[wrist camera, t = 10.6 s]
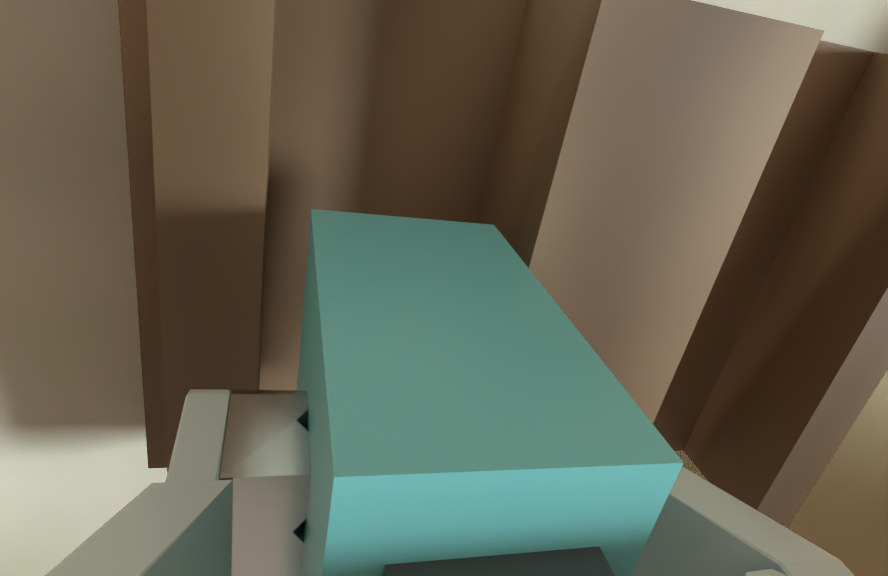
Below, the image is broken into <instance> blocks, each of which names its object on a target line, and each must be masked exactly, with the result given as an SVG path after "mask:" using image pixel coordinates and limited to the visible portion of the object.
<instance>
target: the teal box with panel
mask: <svg viewBox="0 0 888 576" xmlns="http://www.w3.org/2000/svg"><path fill="white" fill-rule="evenodd" d="M297 390H298V391H307V394H308V418H307V429H306V430H307V431H308V432H309V436H310V461H311V480H310V490H309V500H308V510H307V518H306V519H305V520H304V549H303V559H302V569H301V576H630V575H631V573H632V571H633V569H634V567H635V565H636V563H637V561H638V559H639V556H640V554H641V552H642V550H643V548H644V546H645V544H646V542H647V540H648V537H649V535H650V533H651V531H652V529H653V527H654V525H655V523H656V520H657V518H658V516H659V514H660V512H661V510H662V508H663V506H664V504H665V501H666V499H667V497H668V495H669V493H670V491H671V489H672V487H673V485H674V482H675V480H676V478H677V476H678V474H679V472H680V470H681V468H682V465H683V461H682V460H681V459H680V458H679V456H678V455H677V454H676V453H675V451H674V450H673V449H672V448H671V446H670V445H669V444H668V443H667V441H666V440H665V439H664V438H663V436H662V435H661V434H660V433H659V431H658V430H657V429H656V428H655V426H654V425H653V424H652V422H651V421H650V420H649V419H648V417H647V416H646V415H645V414H644V412H643V411H642V410H641V409H640V407H639V406H638V405H637V404H636V402H635V401H634V400H633V399H632V397H631V396H630V395H629V394H628V392H627V391H626V390H625V389H624V387H623V386H622V385H621V384H620V382H619V381H618V380H617V379H616V377H615V376H614V375H613V374H612V372H611V371H610V370H609V369H608V367H607V366H606V365H605V363H604V362H603V361H602V360H601V358H600V357H599V356H598V355H597V353H596V352H595V351H594V350H593V348H592V347H591V346H590V345H589V343H588V342H587V341H586V340H585V338H584V337H583V336H582V335H581V333H580V332H579V331H578V330H577V328H576V327H575V326H574V325H573V323H572V322H571V321H570V320H569V318H568V317H567V316H566V315H565V313H564V312H563V311H562V309H561V308H560V307H559V306H558V304H557V303H556V302H555V301H554V299H553V298H552V297H551V296H550V294H549V293H548V292H547V291H546V289H545V288H544V287H543V286H542V284H541V283H540V282H539V281H538V279H537V278H536V277H535V276H534V274H533V273H532V272H531V271H530V269H529V268H528V267H527V266H526V264H525V263H524V262H523V261H522V259H521V258H520V257H519V256H518V254H517V253H516V252H515V250H514V249H513V248H512V247H511V245H510V244H509V243H508V242H507V240H506V239H505V238H504V237H503V235H502V234H501V233H500V232H499V230H498V229H497V228H496V227H495V225H491V224H480V223H468V222H456V221H445V220H433V219H421V218H410V217H398V216H387V215H375V214H363V213H352V212H340V211H328V210H317V209H311V213H310V226H309V238H308V251H307V264H306V277H305V289H304V302H303V315H302V327H301V340H300V353H299V366H298V378H297Z"/></svg>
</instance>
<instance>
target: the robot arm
mask: <svg viewBox="0 0 888 576" xmlns="http://www.w3.org/2000/svg"><path fill="white" fill-rule="evenodd" d="M307 418H308V394H307V391H298V390H241V389H232V391H230V390H219V389H190V391H189V392H188V394H187V395H186V398H185V402H184V406H183V410H182V415H181V419H180V423H179V427H178V432H177V436H176V440H175V444H174V448H173V453H172V457H171V461H170V465H169V469H168V474H167V478H166V482H165V483H152V484H150V485H149V486H148V487H147V488H146V489H145V490H144V491H142V492H141V493H140V494H139V495H138V496H137V497H135V498H134V499H133V500H132V501H131V502H130V503H128V504H127V505H126V506H125V507H124V508H123V509H122V510H120V511H119V512H118V513H117V514H116V515H115V516H113V517H112V518H111V519H110V520H109V521H108V522H106V523H105V524H104V525H103V526H102V527H101V528H99V529H98V530H97V531H96V532H95V533H94V534H93V535H91V536H90V537H89V538H88V539H87V540H86V541H84V542H83V543H82V544H81V545H80V546H79V547H77V548H76V549H75V550H74V551H73V552H72V553H71V554H69V555H68V556H67V557H66V558H65V559H64V560H62V561H61V562H60V563H59V564H58V565H57V566H55V567H54V568H53V569H52V570H51V571H50V572H49V573H47V574H46V575H45V576H301V569H302V559H303V549H304V520H305V519H306V518H307V510H308V500H309V490H310V480H311V461H310V436H309V432H308V431H307V430H306V429H307ZM630 576H855V575H854V574H853V573H852V572H851V571H850V570H849V569H848V568H847V567H846V566H845V565H844V564H843V563H842V561H841V560H840V559H838V558H836V557H835V556H833V555H831V554H830V553H828V552H826V551H825V550H823V549H821V548H820V547H818V546H816V545H815V544H813V543H811V542H809V541H808V540H806V539H804V538H803V537H801V536H799V535H798V534H796V533H794V532H793V531H791V530H789V529H787V528H786V527H784V526H782V525H781V524H779V523H777V522H776V521H774V520H772V519H771V518H769V517H767V516H765V515H764V514H762V513H760V512H759V511H757V510H755V509H754V508H752V507H750V506H749V505H747V504H745V503H744V502H742V501H740V500H738V499H737V498H735V497H733V496H732V495H730V494H728V493H727V492H725V491H723V490H722V489H720V488H718V487H716V486H715V485H713V484H711V483H710V482H708V481H706V480H705V479H703V478H701V477H700V476H698V475H696V474H695V473H693V472H691V471H689V470H688V469H686V468H684V467H683V466H682V468H681V470H680V472H679V474H678V476H677V478H676V480H675V482H674V485H673V487H672V489H671V491H670V493H669V495H668V497H667V499H666V501H665V504H664V506H663V508H662V510H661V512H660V514H659V516H658V518H657V520H656V523H655V525H654V527H653V529H652V531H651V533H650V535H649V537H648V540H647V542H646V544H645V546H644V548H643V550H642V552H641V554H640V556H639V559H638V561H637V563H636V565H635V567H634V569H633V571H632V573H631V575H630Z"/></svg>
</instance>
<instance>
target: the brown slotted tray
mask: <svg viewBox="0 0 888 576" xmlns="http://www.w3.org/2000/svg"><path fill="white" fill-rule="evenodd" d="M118 5H119V20H120V36H121V51H122V67H123V82H124V98H125V113H126V129H127V144H128V160H129V175H130V191H131V206H132V222H133V237H134V253H135V268H136V284H137V299H138V315H139V330H140V346H141V361H142V377H143V392H144V408H145V423H146V439H147V454H148V468H167V472H168V469H169V465H170V461H171V457H172V453H173V448H174V444H175V440H176V436H177V432H178V427H179V423H180V419H181V415H182V410H183V406H184V402H185V398H186V395H187V394H188V392H189V391H190V389H219V390H230V391H232V389H241V390H297V378H298V366H299V353H300V340H301V327H302V315H303V302H304V289H305V277H306V264H307V251H308V238H309V226H310V213H311V209H317V210H328V211H340V212H352V213H363V214H375V215H387V216H398V217H410V218H421V219H433V220H445V221H456V222H468V223H480V224H491V225H495V227H496V228H497V229H498V230H499V232H500V233H501V234H502V235H503V237H504V238H505V239H506V240H507V242H508V243H509V244H510V245H511V247H512V248H513V249H514V250H515V252H516V253H517V254H518V256H519V257H520V258H521V259H522V261H523V262H524V263H525V264H526V266H527V267H528V268H529V269H530V271H531V272H532V273H533V274H534V276H535V277H536V278H537V279H538V281H539V282H540V283H541V284H542V286H543V287H544V288H545V289H546V291H547V292H548V293H549V294H550V296H551V297H552V298H553V299H554V301H555V302H556V303H557V304H558V306H559V307H560V308H561V309H562V311H563V312H564V313H565V315H566V316H567V317H568V318H569V320H570V321H571V322H572V323H573V325H574V326H575V327H576V328H577V330H578V331H579V332H580V333H581V335H582V336H583V337H584V338H585V340H586V341H587V342H588V343H589V345H590V346H591V347H592V348H593V350H594V351H595V352H596V353H597V355H598V356H599V357H600V358H601V360H602V361H603V362H604V363H605V365H606V366H607V367H608V369H609V370H610V371H611V372H612V374H613V375H614V376H615V377H616V379H617V380H618V381H619V382H620V384H621V385H622V386H623V387H624V389H625V390H626V391H627V392H628V394H629V395H630V396H631V397H632V399H633V400H634V401H635V402H636V404H637V405H638V406H639V407H640V409H641V410H642V411H643V412H644V414H645V415H646V416H647V417H648V419H649V420H650V421H651V422H652V424H653V425H654V426H655V428H656V429H657V430H658V431H659V433H660V434H661V435H662V436H663V438H664V439H665V440H666V441H667V443H668V444H669V445H670V446H671V448H672V449H673V450H674V451H675V450H684V451H685V453H686V454H687V455H688V456H689V458H690V459H691V460H692V461H693V463H694V464H695V465H696V466H697V468H698V469H699V470H700V471H701V472H702V474H703V475H704V476H705V477H706V479H707V480H708V481H709V482H710V483H711V484H713V485H715V486H716V487H718V488H720V489H722V490H723V491H725V492H727V493H728V494H730V495H732V496H733V497H735V498H737V499H738V500H740V501H742V502H744V503H745V504H747V505H749V506H750V507H752V508H754V509H755V510H757V511H759V512H760V513H762V514H764V515H765V516H767V517H769V518H771V519H772V520H774V521H776V522H777V523H779V524H781V525H788V524H790V523H791V521H792V519H793V518H794V516H795V515H796V513H797V512H798V510H799V508H800V507H801V505H802V504H803V502H804V500H805V499H806V497H807V496H808V494H809V493H810V491H811V489H812V488H813V486H814V485H815V483H816V482H817V480H818V478H819V477H820V475H821V474H822V472H823V470H824V469H825V467H826V466H827V464H828V463H829V461H830V459H831V458H832V456H833V455H834V453H835V452H836V450H837V448H838V447H839V445H840V444H841V442H842V440H843V439H844V437H845V436H846V434H847V433H848V431H849V429H850V428H851V426H852V425H853V423H854V422H855V420H856V418H857V417H858V415H859V414H860V412H861V410H862V409H863V407H864V406H865V404H866V403H867V401H868V399H869V398H870V396H871V395H872V393H873V392H874V390H875V388H876V387H877V385H878V384H879V382H880V380H881V379H882V377H883V376H884V374H885V373H886V371H887V369H888V54H881V53H875V52H870V51H866V50H861V49H856V48H852V47H847V46H843V45H838V44H834V43H829V42H825V41H820V39H821V37H822V35H823V32H824V31H823V30H818V29H814V28H810V27H805V26H801V25H796V24H792V23H788V22H783V21H779V20H774V19H770V18H766V17H761V16H757V15H752V14H748V13H744V12H739V11H735V10H730V9H726V8H722V7H717V6H713V5H709V4H704V3H700V2H695V1H691V0H118Z"/></svg>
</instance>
